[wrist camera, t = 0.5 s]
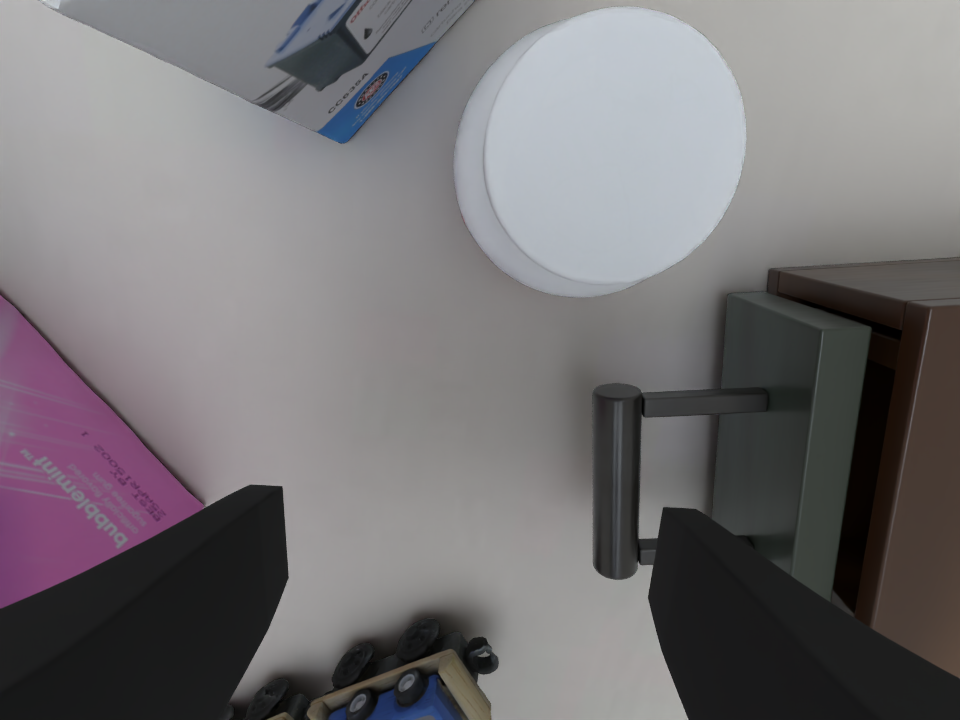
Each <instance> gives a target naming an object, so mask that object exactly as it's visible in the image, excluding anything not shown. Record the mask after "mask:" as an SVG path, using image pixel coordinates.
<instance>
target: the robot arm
mask: <svg viewBox="0 0 960 720" xmlns="http://www.w3.org/2000/svg"><path fill="white" fill-rule="evenodd" d="M288 578H289V577H288V562H287V547H286V532H285V518H284V503H283V488H282V486H266V485H249V486H246V487H244V488H242V489H240V490H238V491H236V492H234V493H232V494H230V495H228V496H226V497H224V498H222V499H220V500H219V501H217V502H215V503H213V504H211V505H209V506H208V507H206V508H204V509H202V510H200V511H199V512H197V513H195V514H193V515H191V516H190V517H188V518H186V519H184V520H182V521H180V522H179V523H177V524H175V525H173V526H171V527H170V528H168V529H166V530H164V531H162V532H160V533H159V534H157V535H155V536H153V537H151V538H149V539H148V540H146V541H144V542H142V543H140V544H138V545H136V546H134V547H132V548H130V549H128V550H126V551H124V552H122V553H120V554H118V555H116V556H114V557H112V558H110V559H108V560H106V561H104V562H102V563H100V564H98V565H96V566H94V567H92V568H90V569H88V570H86V571H84V572H82V573H80V574H78V575H76V576H74V577H72V578H70V579H67V580H65V581H63V582H61V583H59V584H56V585H54V586H52V587H50V588H48V589H45V590H43V591H41V592H38V593H36V594H34V595H31V596H29V597H27V598H24V599H22V600H20V601H17V602H15V603H13V604H10V605H8V606H5V607H3V608H1V609H0V720H219V719H220V717H221V715H222V713H223V711H224V710H225V708H226V706H227V704H228V702H229V700H230V699H231V697H232V695H233V693H234V691H235V690H236V688H237V686H238V684H239V682H240V680H241V679H242V677H243V675H244V673H245V671H246V670H247V668H248V666H249V664H250V662H251V660H252V658H253V657H254V655H255V653H256V651H257V649H258V647H259V646H260V644H261V642H262V640H263V638H264V636H265V634H266V632H267V630H268V629H269V626H270V624H271V621H272V619H273V616H274V614H275V612H276V609H277V607H278V604H279V601H280V599H281V596H282V594H283V591H284V588H285V586H286V583H287V580H288ZM648 599H649V604H650V608H651V612H652V616H653V620H654V624H655V628H656V632H657V635H658V639H659V643H660V646H661V650H662V653H663V655H664V658H665V661H666V663H667V666H668V669H669V671H670V674H671V676H672V679H673V681H674V684H675V686H676V689H677V692H678V694H679V697H680V699H681V702H682V704H683V707H684V709H685V712H686V714H687V717H688V719H689V720H960V678H958V677H956V676H954V675H952V674H951V673H949V672H947V671H945V670H943V669H941V668H939V667H938V666H936V665H934V664H932V663H931V662H929V661H927V660H925V659H924V658H922V657H920V656H918V655H917V654H915V653H913V652H911V651H909V650H908V649H906V648H904V647H902V646H901V645H899V644H897V643H895V642H894V641H892V640H890V639H888V638H887V637H885V636H883V635H882V634H880V633H878V632H877V631H875V630H873V629H872V628H870V627H868V626H867V625H865V624H864V623H862V622H860V621H859V620H857V619H856V618H854V617H852V616H851V615H849V614H848V613H846V612H845V611H843V610H842V609H840V608H839V607H837V606H835V605H834V604H832V603H831V602H829V601H828V600H826V599H825V598H823V597H822V596H820V595H819V594H817V593H816V592H814V591H813V590H811V589H810V588H808V587H807V586H805V585H804V584H802V583H801V582H799V581H798V580H796V579H795V578H794V577H792V576H791V575H789V574H788V573H786V572H785V571H784V570H782V569H781V568H779V567H778V566H777V565H775V564H774V563H772V562H771V561H770V560H768V559H767V558H765V557H764V556H763V555H761V554H760V553H758V552H757V551H756V550H754V549H753V548H752V547H750V546H749V545H747V544H746V543H745V542H743V541H742V540H741V539H739V538H738V537H736V536H735V535H734V534H732V533H731V532H730V531H728V530H727V529H725V528H724V527H722V526H721V525H720V524H718V523H717V522H715V521H714V520H712V519H711V518H710V517H708V516H706V515H705V514H703V513H702V512H700V511H698V510H697V509H688V508H670V507H663V511H662V517H661V523H660V529H659V535H658V541H657V547H656V553H655V559H654V565H653V571H652V577H651V583H650V589H649V595H648Z"/></svg>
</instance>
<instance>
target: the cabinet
mask: <svg viewBox="0 0 960 720" xmlns="http://www.w3.org/2000/svg"><path fill="white" fill-rule="evenodd" d="M767 293H769V294H772V295H776V296H779V297H782V298H785V299H788V300H791V301H794V302H797V303H800V304H803V305H806V306H809V307H812V308H832V309H835V310H838V311H841V312H844V313H848V314H851V315H854V316H857V317H860V318H864V319H867V320H870V321H873V322H876V323H880V324H883V325H886V326H889V327H892V328H896V329H899V330H902V335H901V341H900V347H899V353H898V359H897V365H896V371H895V377H894V383H893V388H892V394H891V400H890V406H889V412H888V418H887V424H886V430H885V436H884V442H883V448H882V454H881V460H880V466H879V472H878V478H877V484H876V490H875V496H874V502H873V508H872V513H871V519H870V525H869V531H868V537H867V543H866V549H865V555H864V561H863V567H862V573H861V579H860V585H859V591H858V597H857V603H856V609H855V615H854V618H856V619H857V620H859V621H860V622H862V623H864V624H865V625H867V626H868V627H870V628H872V629H873V630H875V631H877V632H878V633H880V634H882V635H883V636H885V637H887V638H888V639H890V640H892V641H894V642H895V643H897V644H899V645H901V646H902V647H904V648H906V649H908V650H909V651H911V652H913V653H915V654H917V655H918V656H920V657H922V658H924V659H925V660H927V661H929V662H931V663H932V664H934V665H936V666H938V667H939V668H941V669H943V670H945V671H947V672H949V673H951V674H952V675H954V676H956V677H958V678H960V257H958V258H941V259H924V260H907V261H890V262H873V263H856V264H839V265H822V266H805V267H788V268H771V269H770V270H769V278H768V289H767Z"/></svg>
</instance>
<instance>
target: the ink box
mask: <svg viewBox="0 0 960 720" xmlns="http://www.w3.org/2000/svg"><path fill="white" fill-rule="evenodd" d="M39 1H40V2H41V3H43V4H44V5H46V6H47V7H49V8H51V9H53V10H55V11H56V12H58V13H60V14H63V15H65V16H67V17H69V18H71V19H73V20H76V21H78V22H81V23H83V24H85V25H88V26H90V27H92V28H94V29H96V30H99V31H101V32H103V33H105V34H107V35H109V36H111V37H113V38H116V39H118V40H120V41H123V42H125V43H127V44H129V45H131V46H133V47H136V48H138V49H140V50H142V51H144V52H147V53H149V54H150V55H152V56H154V57H156V58H158V59H161V60H163V61H165V62H168V63H170V64H172V65H174V66H177V67H179V68H181V69H183V70H185V71H187V72H189V73H191V74H193V75H195V76H197V77H199V78H201V79H203V80H205V81H208V82H210V83H212V84H214V85H217V86H219V87H221V88H223V89H225V90H227V91H229V92H231V93H233V94H235V95H237V96H239V97H241V98H243V99H245V100H247V101H249V102H251V103H253V104H256V105H258V106H260V107H262V108H265V109H267V110H269V111H271V112H273V113H276V114H278V115H280V116H282V117H284V118H287V119H289V120H291V121H293V122H295V123H297V124H300V125H302V126H304V127H306V128H308V129H310V130H312V131H315V132H317V133H319V134H321V135H323V136H326V137H328V138H330V139H332V140H334V141H336V142H338V143H341V144H342V143H346V142H347V141H348V140H349V139H350V138H351V137H352V136H353V135H354V133H355V132H356V131H357V130H358V129H359V128H360V127H361V126H362V125H363V123H364V122H365V121H366V120H367V119H368V118H369V117H370V116H371V115H372V113H373V112H374V111H375V110H376V109H377V108H378V107H379V105H380V104H381V103H382V102H383V101H384V100H385V99H386V98H387V97H388V96H389V94H390V93H391V92H392V91H393V90H394V89H395V88H396V87H397V86H398V85H399V83H400V82H401V81H402V80H403V79H404V78H405V77H406V76H407V74H408V73H409V72H410V71H411V70H412V69H413V68H414V67H415V66H416V65H417V64H418V62H419V61H420V60H421V59H422V58H423V57H424V56H425V55H426V53H427V52H428V51H429V50H430V49H431V48H432V47H433V45H434V44H435V43H436V42H437V41H438V40H439V39H440V37H441V36H442V35H443V34H444V33H445V32H446V31H447V30H448V29H449V28H450V27H451V26H452V25H453V23H454V22H455V21H456V20H457V19H458V18H459V17H460V16H461V15H462V14H463V13H464V12H465V11H466V10H467V8H468V7H469V6H470V5H471V4H472V3H473V2H474V1H475V0H39Z"/></svg>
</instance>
